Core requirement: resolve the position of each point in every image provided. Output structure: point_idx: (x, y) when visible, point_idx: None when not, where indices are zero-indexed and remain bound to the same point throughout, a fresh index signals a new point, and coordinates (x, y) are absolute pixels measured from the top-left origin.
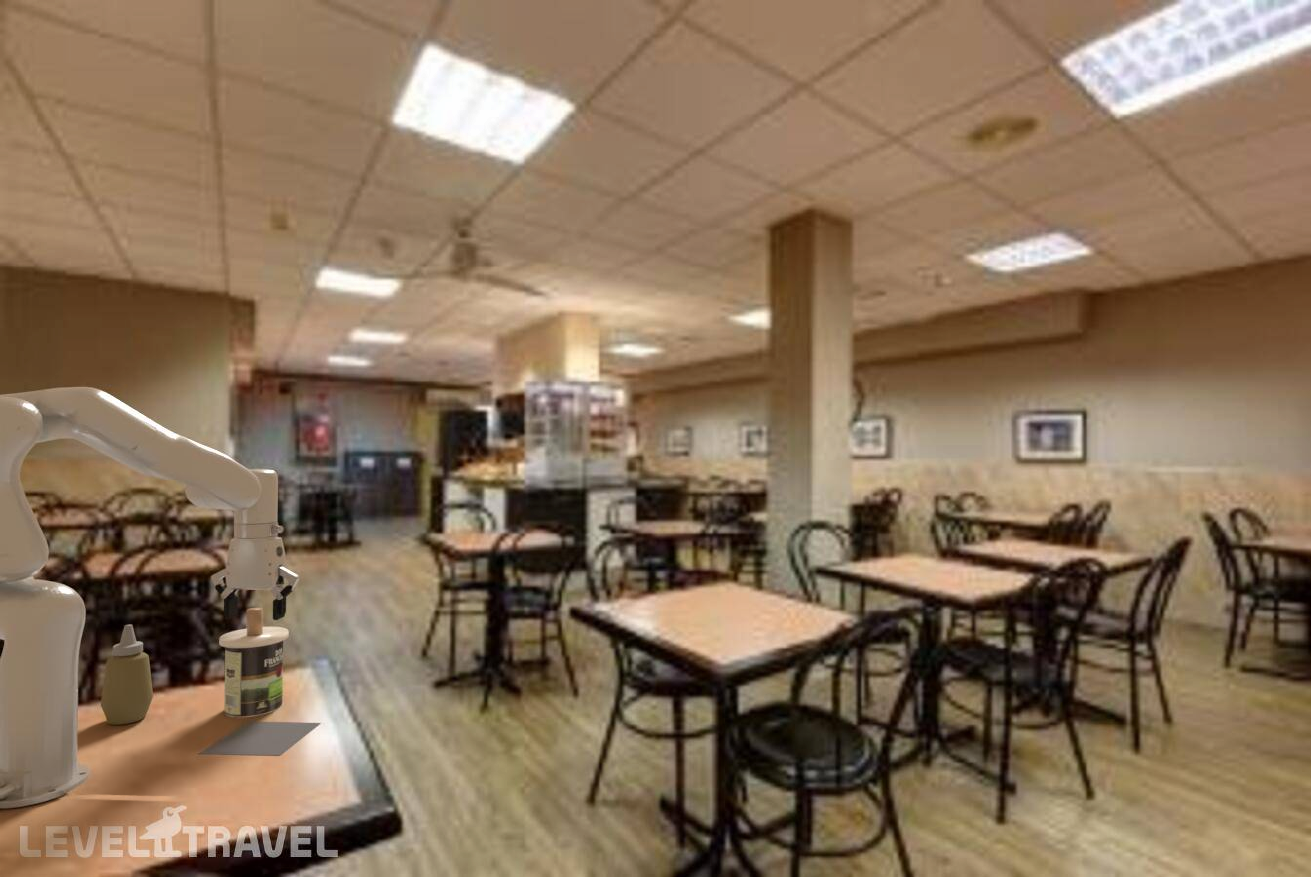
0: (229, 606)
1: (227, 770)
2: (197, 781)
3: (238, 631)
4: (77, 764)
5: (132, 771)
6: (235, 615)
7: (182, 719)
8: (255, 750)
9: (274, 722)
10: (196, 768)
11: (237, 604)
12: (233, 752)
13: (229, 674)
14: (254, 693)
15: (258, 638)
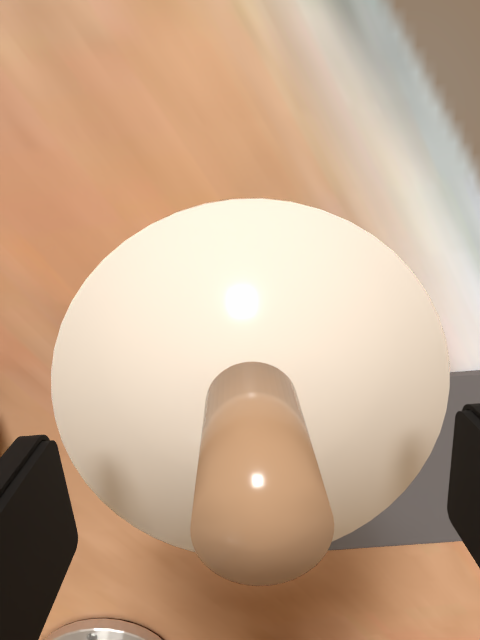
0: (34, 631)
1: (396, 581)
2: (366, 618)
3: (94, 357)
4: (108, 633)
5: (214, 604)
6: (57, 465)
7: None
8: (416, 526)
9: None
10: (329, 581)
11: (6, 510)
12: (373, 540)
13: None
14: None
15: (330, 473)
